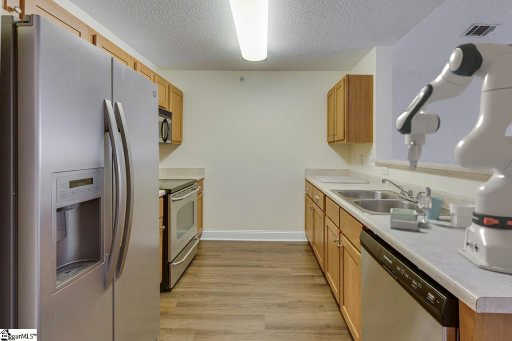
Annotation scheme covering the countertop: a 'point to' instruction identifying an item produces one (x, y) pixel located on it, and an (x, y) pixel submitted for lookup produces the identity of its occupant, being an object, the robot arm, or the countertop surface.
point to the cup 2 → (461, 214)
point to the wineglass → (425, 206)
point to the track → (404, 225)
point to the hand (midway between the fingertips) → (413, 169)
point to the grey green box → (403, 215)
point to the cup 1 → (434, 208)
